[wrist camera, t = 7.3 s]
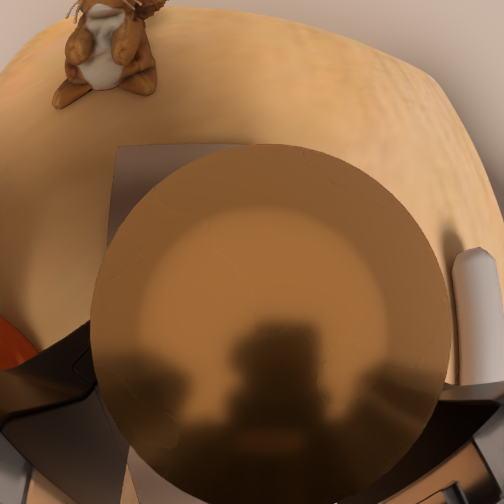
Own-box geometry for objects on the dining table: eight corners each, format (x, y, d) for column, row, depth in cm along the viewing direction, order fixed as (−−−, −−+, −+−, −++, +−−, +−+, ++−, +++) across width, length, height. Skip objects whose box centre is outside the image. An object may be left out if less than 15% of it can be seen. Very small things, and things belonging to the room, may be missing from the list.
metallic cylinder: (268, 352, 15) (481, 337, 3) (202, 400, 14) (270, 563, 2) (220, 286, 16) (322, 110, 4) (152, 332, 14) (26, 261, 2)
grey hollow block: (304, 482, 14) (331, 506, 11) (155, 503, 12) (151, 535, 8) (265, 179, 21) (281, 146, 17) (127, 182, 18) (118, 146, 15)
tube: (463, 239, 19) (458, 507, 11) (501, 238, 19) (498, 486, 11) (437, 259, 24) (435, 489, 16) (473, 256, 24) (473, 473, 16)
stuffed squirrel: (49, 117, 19) (13, -2, 7) (94, 40, 23) (89, -49, 11) (150, 110, 21) (153, -34, 9) (173, 35, 25) (185, -59, 13)
